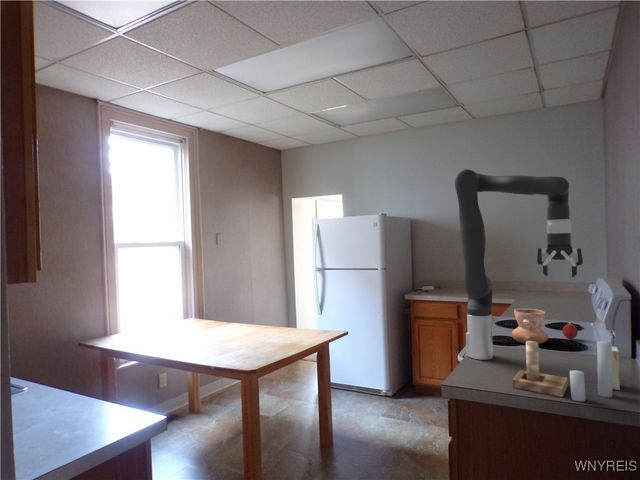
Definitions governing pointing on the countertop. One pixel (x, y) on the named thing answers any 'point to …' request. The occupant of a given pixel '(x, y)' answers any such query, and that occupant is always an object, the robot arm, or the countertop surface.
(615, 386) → the skincare box
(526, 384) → the wooden board with hole
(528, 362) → the beech dowel
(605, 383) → the tall grey dowel
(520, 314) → the ceramic jug
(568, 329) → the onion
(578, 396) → the short grey dowel
